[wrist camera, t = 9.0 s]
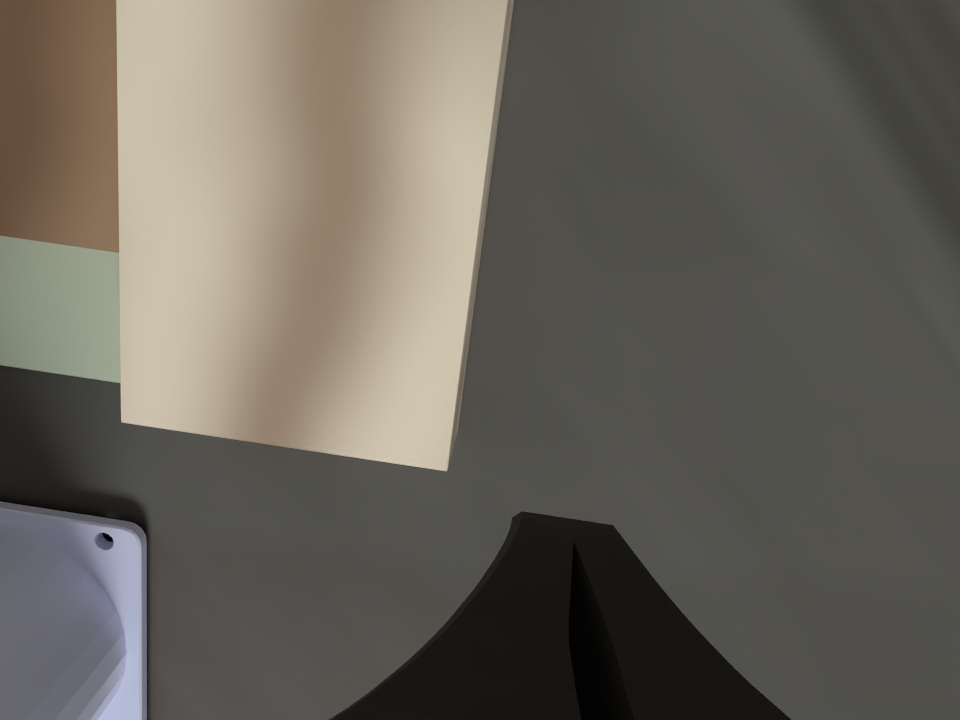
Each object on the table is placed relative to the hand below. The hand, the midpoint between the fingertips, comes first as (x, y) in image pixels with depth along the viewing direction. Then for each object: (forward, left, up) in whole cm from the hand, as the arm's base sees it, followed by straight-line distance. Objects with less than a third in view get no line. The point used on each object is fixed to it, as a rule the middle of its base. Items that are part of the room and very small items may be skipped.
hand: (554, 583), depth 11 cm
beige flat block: (-6, +6, -9) cm, 13 cm away
